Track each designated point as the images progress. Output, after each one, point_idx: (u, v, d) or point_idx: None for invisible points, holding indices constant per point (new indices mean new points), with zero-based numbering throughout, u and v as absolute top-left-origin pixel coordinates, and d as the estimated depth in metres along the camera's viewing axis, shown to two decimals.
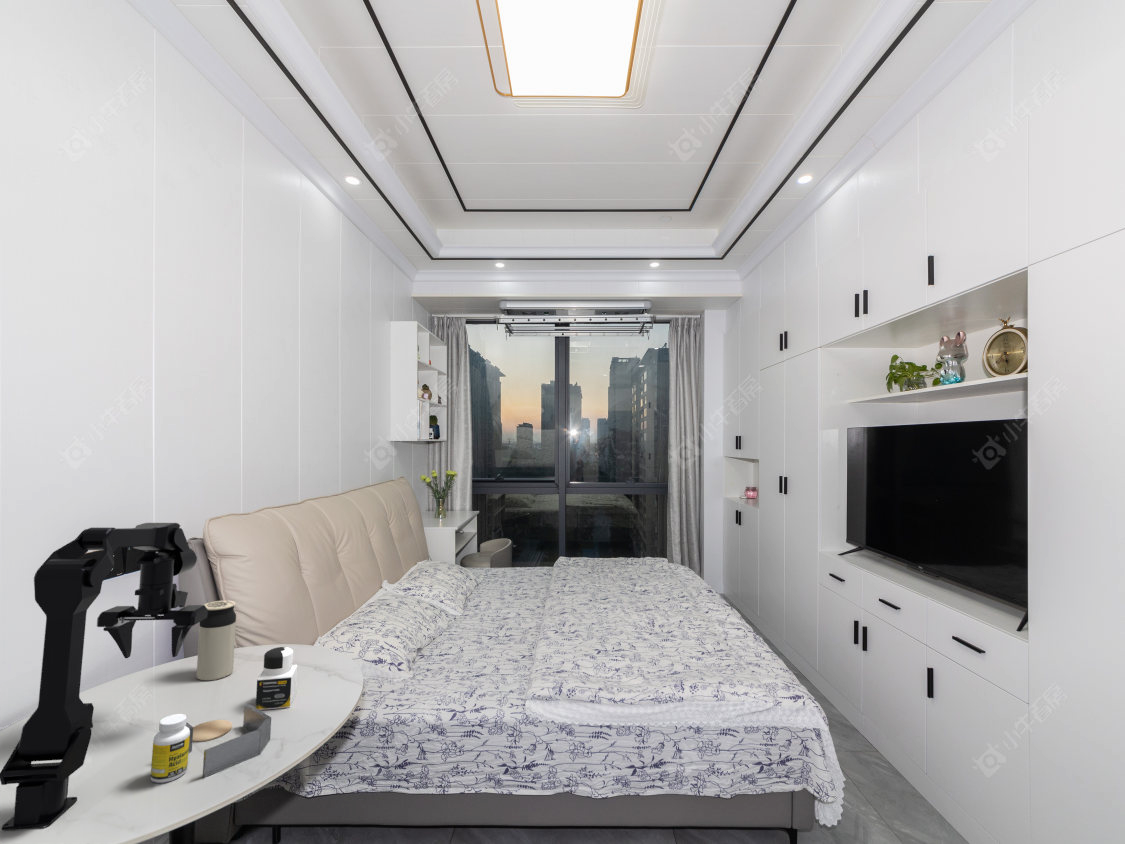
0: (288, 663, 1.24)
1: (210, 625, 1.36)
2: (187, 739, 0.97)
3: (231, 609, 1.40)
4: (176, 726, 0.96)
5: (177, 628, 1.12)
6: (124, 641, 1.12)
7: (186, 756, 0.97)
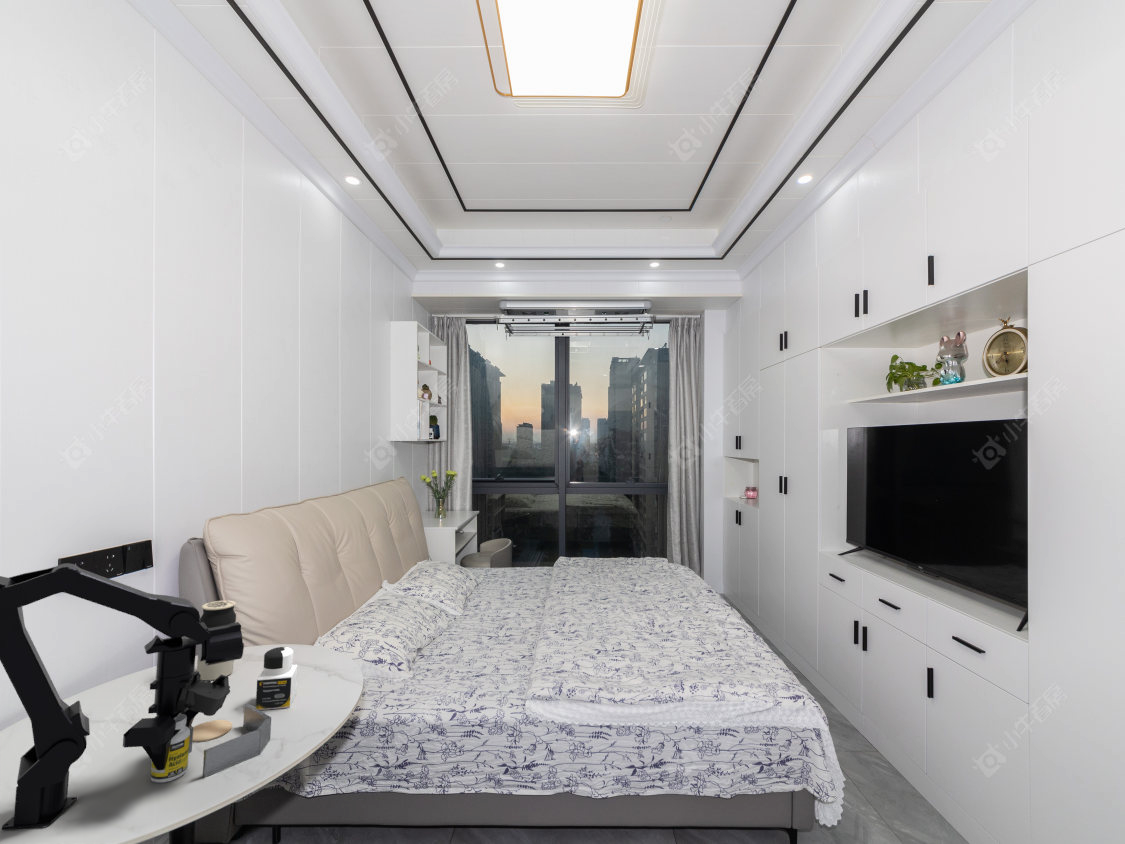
0: (288, 663, 1.24)
1: (210, 625, 1.36)
2: (187, 739, 0.97)
3: (231, 609, 1.40)
4: (176, 726, 0.96)
5: None
6: None
7: (186, 756, 0.97)
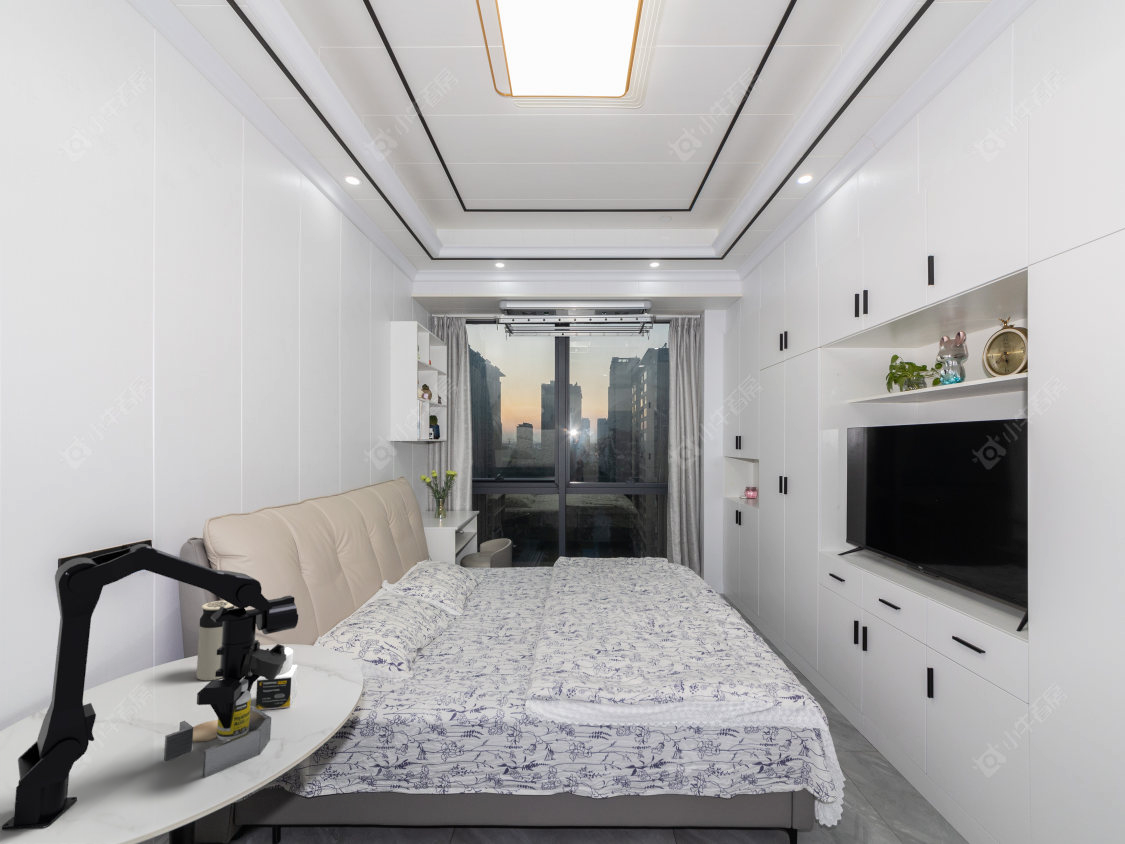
0: (288, 663, 1.24)
1: (210, 625, 1.36)
2: (249, 701, 1.06)
3: None
4: None
5: None
6: None
7: (248, 717, 1.06)
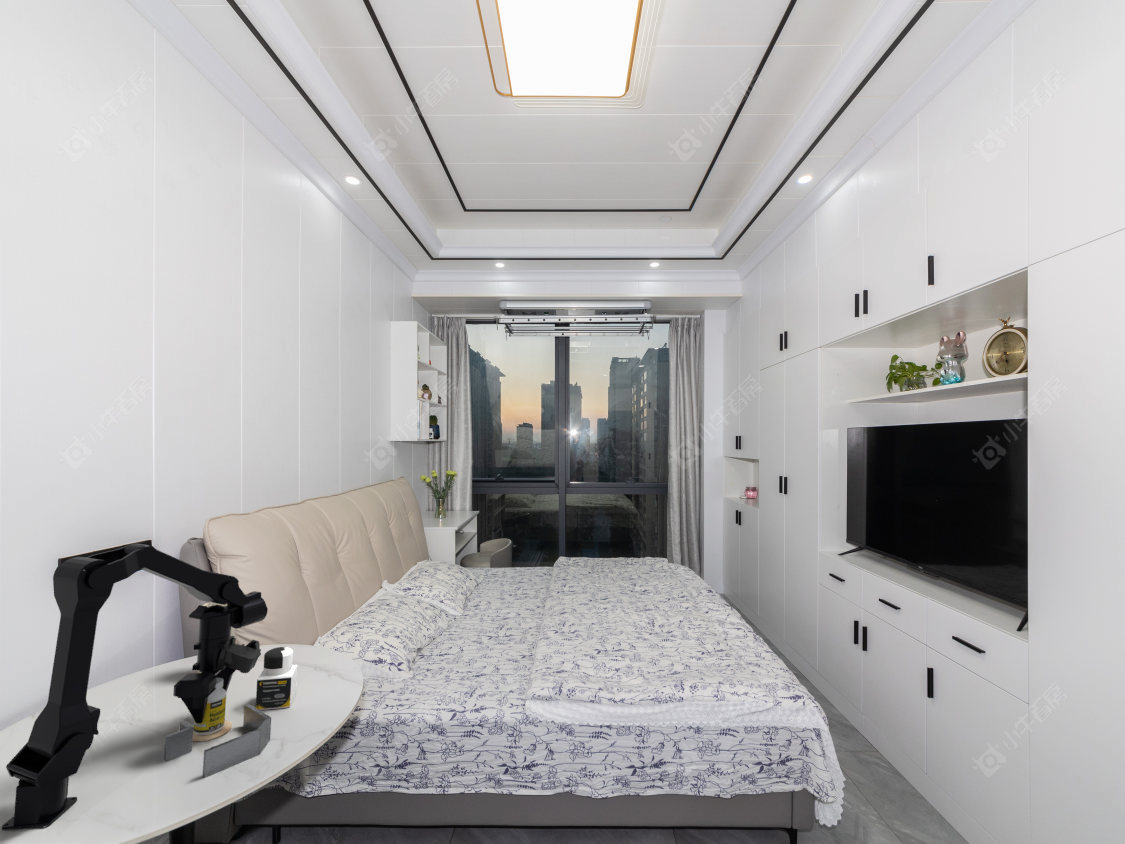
0: (288, 663, 1.24)
1: None
2: (224, 699, 1.12)
3: None
4: (215, 687, 1.11)
5: None
6: None
7: (223, 713, 1.12)
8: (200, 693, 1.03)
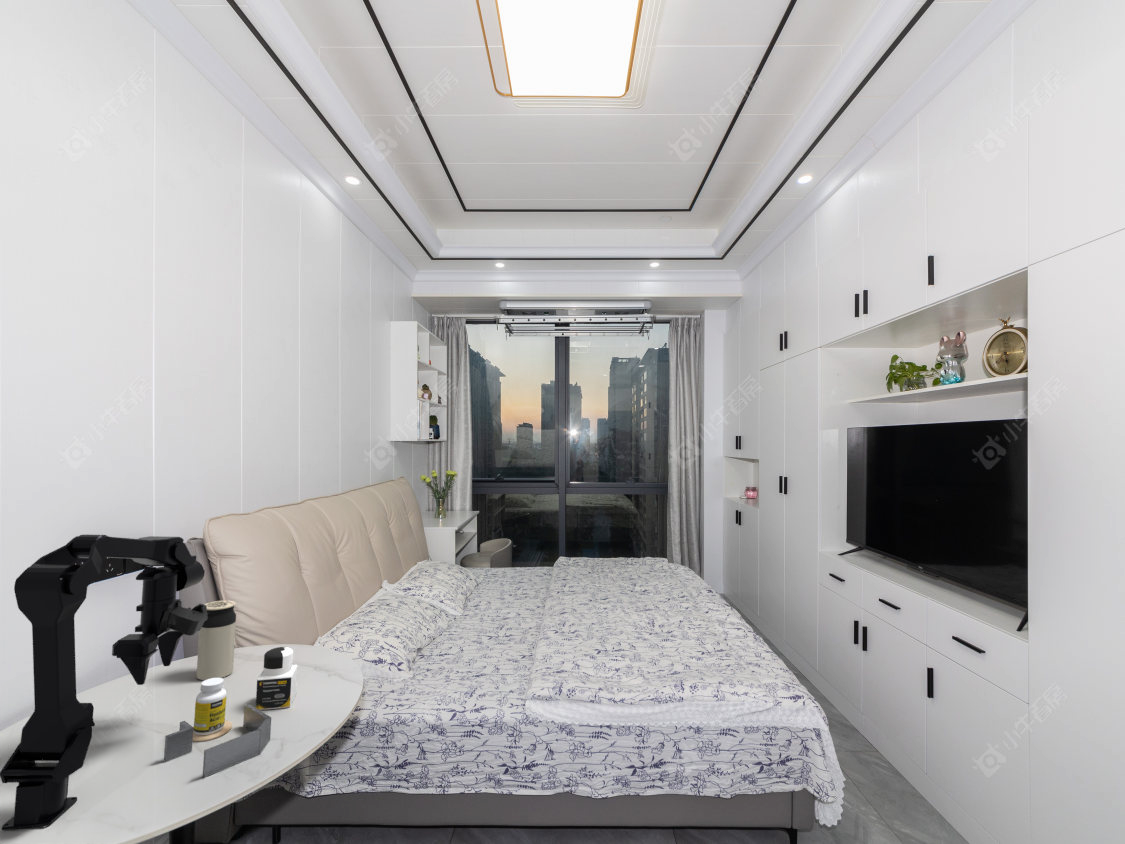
0: (288, 663, 1.24)
1: (210, 625, 1.36)
2: (224, 699, 1.12)
3: (231, 609, 1.40)
4: (215, 687, 1.11)
5: None
6: (162, 648, 1.15)
7: (223, 714, 1.12)
8: (139, 653, 1.02)
